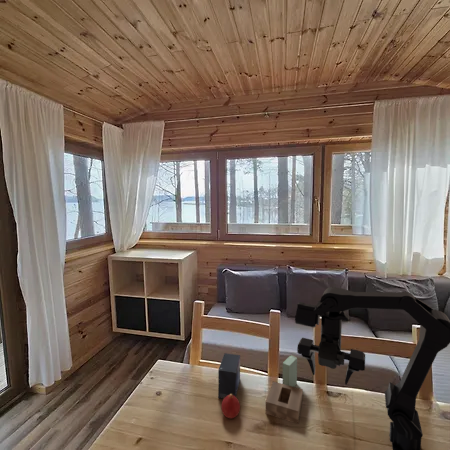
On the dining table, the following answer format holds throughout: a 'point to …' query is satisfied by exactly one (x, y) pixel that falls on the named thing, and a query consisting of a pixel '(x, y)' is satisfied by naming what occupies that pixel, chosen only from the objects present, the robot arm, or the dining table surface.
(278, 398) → the slotted box
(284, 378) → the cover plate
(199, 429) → the dining table surface
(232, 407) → the onion
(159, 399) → the dining table surface
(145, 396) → the dining table surface
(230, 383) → the small box
